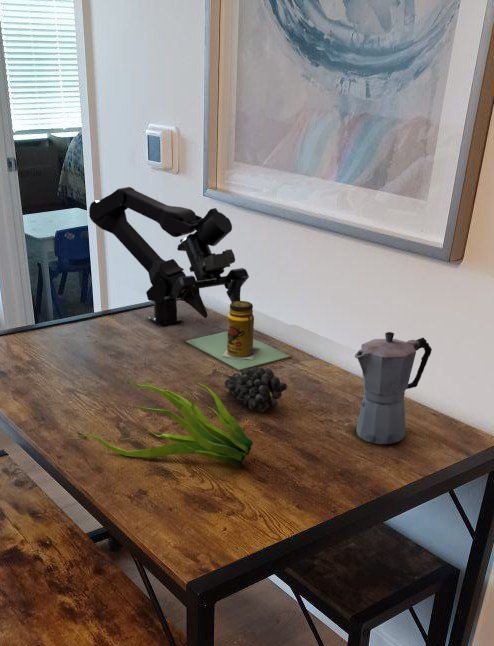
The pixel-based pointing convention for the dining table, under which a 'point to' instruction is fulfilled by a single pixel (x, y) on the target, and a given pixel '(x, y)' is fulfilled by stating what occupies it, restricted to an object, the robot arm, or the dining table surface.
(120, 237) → the robot arm
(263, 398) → the fruit
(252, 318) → the condiment
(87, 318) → the dining table surface
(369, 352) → the moka pot
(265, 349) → the mat
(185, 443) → the decorative plant
